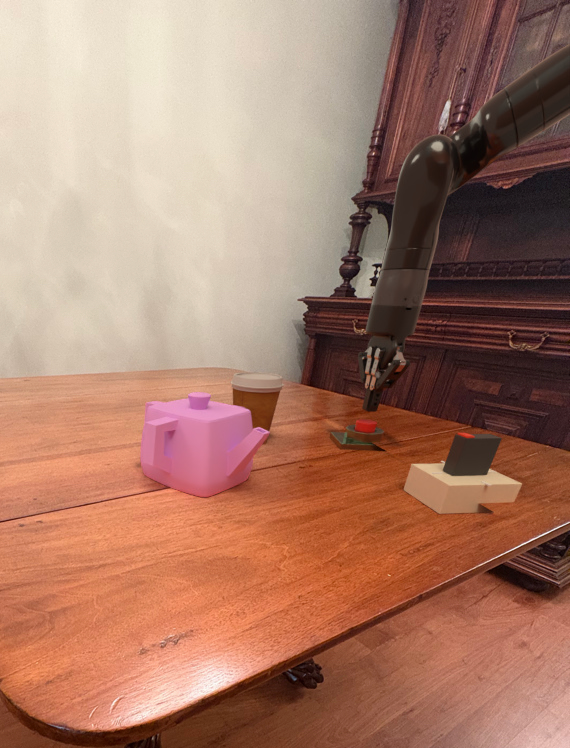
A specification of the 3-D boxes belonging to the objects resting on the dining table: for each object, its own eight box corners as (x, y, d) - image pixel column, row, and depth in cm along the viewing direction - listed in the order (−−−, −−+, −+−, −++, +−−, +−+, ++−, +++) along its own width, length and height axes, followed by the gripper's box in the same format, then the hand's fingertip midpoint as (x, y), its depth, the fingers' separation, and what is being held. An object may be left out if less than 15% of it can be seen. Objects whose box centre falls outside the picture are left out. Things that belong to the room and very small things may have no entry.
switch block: (380, 439, 84) (384, 424, 83) (395, 452, 78) (400, 436, 76) (329, 437, 85) (332, 422, 84) (339, 449, 78) (343, 433, 77)
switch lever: (475, 469, 58) (491, 431, 56) (487, 475, 56) (503, 436, 54) (442, 470, 58) (455, 432, 55) (452, 475, 56) (466, 436, 53)
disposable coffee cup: (258, 432, 87) (266, 370, 81) (284, 446, 80) (295, 378, 74) (216, 436, 85) (222, 372, 79) (240, 450, 77) (247, 381, 71)
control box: (463, 486, 63) (474, 460, 61) (513, 513, 56) (527, 484, 53) (400, 488, 63) (409, 461, 60) (442, 516, 55) (453, 486, 53)
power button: (371, 428, 82) (373, 419, 81) (377, 433, 78) (380, 424, 78) (351, 428, 82) (354, 418, 81) (357, 433, 79) (359, 423, 78)
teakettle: (141, 458, 72) (140, 382, 66) (240, 459, 73) (248, 383, 67) (138, 499, 58) (136, 406, 51) (262, 500, 58) (275, 407, 52)
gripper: (355, 302, 75) (333, 403, 84) (398, 303, 64) (368, 419, 72) (395, 303, 76) (369, 403, 84) (444, 304, 64) (409, 419, 73)
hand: (369, 410), depth 78 cm, fingers closed
